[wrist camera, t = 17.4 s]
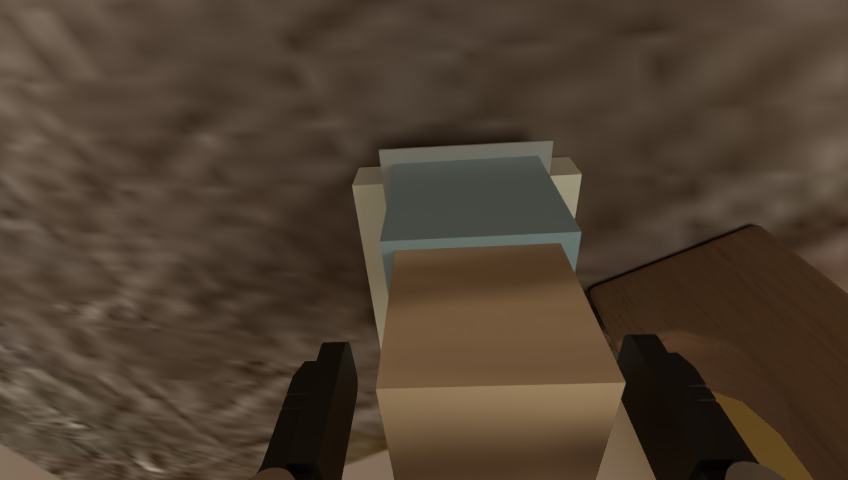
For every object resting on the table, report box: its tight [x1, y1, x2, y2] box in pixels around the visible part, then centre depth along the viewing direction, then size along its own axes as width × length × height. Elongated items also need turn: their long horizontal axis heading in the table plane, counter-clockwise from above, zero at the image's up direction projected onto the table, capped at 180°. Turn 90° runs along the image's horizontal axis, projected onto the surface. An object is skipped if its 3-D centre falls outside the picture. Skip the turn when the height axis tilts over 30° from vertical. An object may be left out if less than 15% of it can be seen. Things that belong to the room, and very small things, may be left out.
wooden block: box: [590, 225, 848, 480], centre depth 16 cm, size 9×4×18 cm, turn 120°
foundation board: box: [352, 140, 582, 349], centre depth 21 cm, size 13×10×2 cm
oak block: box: [376, 243, 626, 480], centre depth 12 cm, size 5×5×5 cm
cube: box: [380, 156, 581, 298], centre depth 16 cm, size 6×6×6 cm
